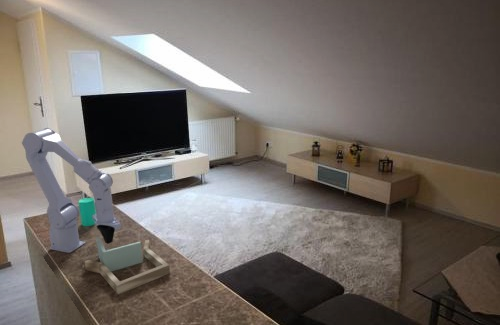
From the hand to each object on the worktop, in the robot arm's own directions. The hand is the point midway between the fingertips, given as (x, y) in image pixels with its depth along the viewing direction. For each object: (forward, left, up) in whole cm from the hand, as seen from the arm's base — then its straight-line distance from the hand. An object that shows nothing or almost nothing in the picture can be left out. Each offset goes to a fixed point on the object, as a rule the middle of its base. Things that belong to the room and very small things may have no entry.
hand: (109, 242), depth 137 cm
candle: (-23, +15, -3) cm, 28 cm away
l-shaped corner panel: (+9, -5, -3) cm, 11 cm away
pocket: (+17, -10, -2) cm, 19 cm away
